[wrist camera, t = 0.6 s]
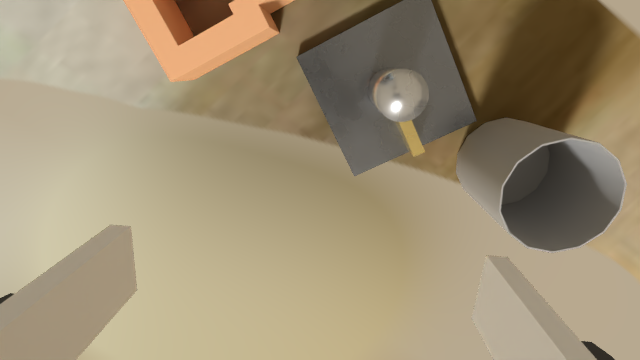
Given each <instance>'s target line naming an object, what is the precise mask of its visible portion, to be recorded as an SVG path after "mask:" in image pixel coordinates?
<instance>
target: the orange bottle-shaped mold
mask: <svg viewBox="0 0 640 360" xmlns="http://www.w3.org/2000/svg"><path fill="white" fill-rule="evenodd" d="M123 1H124V2H125V4H126V6H127V7H128V9H129V11H130V13H131V14H132V16H133V18H134V20H135V21H136V23H137V25H138V26H139V28H140V30H141V32H142V33H143V35H144V37H145V38H146V40H147V42H148V44H149V45H150V47H151V49H152V50H153V52H154V54H155V56H156V57H157V59H158V61H159V62H160V64H161V66H162V68H163V69H164V71H165V73H166V75H167V76H168V78H169V80H170V81H171V82H175V81H186V80H195V79H197V78H199V77H200V76H202V75H204V74H206V73H208V72H209V71H211V70H213V69H215V68H217V67H219V66H220V65H222V64H224V63H226V62H228V61H230V60H231V59H233V58H235V57H237V56H239V55H241V54H242V53H244V52H246V51H248V50H250V49H252V48H253V47H255V46H257V45H259V44H261V43H263V42H264V41H266V40H268V39H270V38H272V37H273V36H275V35H277V34H279V31H278V29H277V27H276V25H275V23H274V21H273V19H272V16H271V13H273V12H274V11H276V10H278V9H280V8H282V7H283V6H285V5H287V4H289V3H291V2H292V1H294V0H234V1H233V2H231V3H229V4H228V5H229V7H230V9H231V11H232V13H233V15H232V16H230V17H228V18H226V19H225V20H223V21H221V22H219V23H218V24H216V25H214V26H212V27H211V28H209V29H207V30H205V31H204V32H202V33H200V34H198V35H197V36H195V37H194V35H193V33H192V31H191V29H190V28H189V26H188V24H187V22H186V20H185V19H184V17H183V15H182V13H181V11H180V9H179V8H178V6H177V4H176V2H175V0H123Z"/></svg>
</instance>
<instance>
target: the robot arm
mask: <svg viewBox="0 0 640 360" xmlns="http://www.w3.org/2000/svg"><path fill="white" fill-rule="evenodd" d="M136 291H137V284H136V274H135V264H134V253H133V243H132V233H131V226H121V225H110V226H108V227H107V228H105V229H104V230H102V231H101V232H100V233H98V234H97V235H96V236H94V237H93V238H91V239H90V240H89V241H87V242H86V243H85V244H83V245H82V246H80V247H79V248H77V249H76V250H75V251H73V252H72V253H71V254H69V255H68V256H66V257H65V258H64V259H62V260H61V261H59V262H58V263H57V264H55V265H54V266H53V267H51V268H50V269H48V270H47V271H46V272H44V273H43V274H41V275H40V276H39V277H37V278H36V279H35V280H33V281H32V282H31V283H29V284H28V285H26V286H25V287H23V288H22V289H21V290H19V291H18V292H17V293H15V294H11V293H10V294H8V295H6V296H4V297H2V298H0V360H76V359H77V358H78V357H79V356H80V355H81V354H82V352H83V351H84V350H85V349H86V348H87V347H88V345H89V344H90V343H91V342H92V341H93V340H94V339H95V337H96V336H97V335H98V334H99V333H100V332H101V331H102V330H103V328H104V327H105V326H106V325H107V324H108V323H109V322H110V320H111V319H112V318H113V317H114V316H115V315H116V313H117V312H118V311H119V310H120V309H121V308H122V307H123V306H124V304H125V303H126V302H127V301H128V300H129V299H130V298H131V296H132V295H133V294H134V293H135V292H136ZM472 320H473V322H474V324H475V326H476V328H477V330H478V331H479V333H480V335H481V337H482V339H483V341H484V343H485V345H486V347H487V349H488V351H489V352H490V354H491V356H492V358H493V360H614V358H613V357H612V356H610V355H609V354H607V353H606V352H605V351H603V350H602V349H600V348H599V347H598V346H596V345H595V344H593V343H592V342H585V341H580V340H579V338H578V337H577V336H576V335H575V334H574V333H573V332H572V330H571V329H570V328H569V327H568V326H567V325H566V324H565V322H564V321H563V320H562V319H561V318H560V317H559V316H558V314H556V312H555V311H554V310H553V309H552V307H551V306H550V305H549V304H548V303H547V302H546V301H545V299H544V298H543V297H542V296H541V295H540V294H539V293H538V292H537V290H536V289H535V288H534V287H533V286H532V285H531V284H530V282H529V281H528V280H527V279H526V278H525V277H524V275H523V274H522V273H521V272H520V271H519V270H518V269H517V267H516V266H515V265H514V264H513V263H512V262H511V261H510V259H509V258H508V257H501V256H489V255H486V259H485V263H484V268H483V272H482V276H481V281H480V285H479V289H478V293H477V298H476V302H475V306H474V311H473V315H472Z"/></svg>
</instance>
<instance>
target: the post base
mask: <svg viewBox="0 0 640 360" xmlns="http://www.w3.org/2000/svg"><path fill="white" fill-rule="evenodd" d="M297 59H298V61H299V63H300V65H301V67H302V70H303V72H304V74H305V76H306V78H307V80H308V82H309V84H310V86H311V88H312V90H313V92H314V94H315V96H316V98H317V100H318V102H319V105H320V107H321V109H322V111H323V113H324V115H325V117H326V119H327V121H328V123H329V125H330V127H331V129H332V131H333V133H334V135H335V138H336V140H337V142H338V144H339V146H340V148H341V150H342V152H343V154H344V156H345V158H346V160H347V162H348V164H349V166H350V168H351V170H352V173H353V174H354V176H356V175H358V174H361V173H363V172H365V171H367V170H369V169H372V168H374V167H376V166H378V165H380V164H383V163H385V162H387V161H389V160H391V159H394V158H396V157H398V156H400V155H402V154H405V153H407V152H410V153H411V154H412V155H413V156H414V157H415V156H417V155H419V154H421V153H424V152H425V151H424V148H423V146H422V145H425V144H427V143H429V142H431V141H433V140H436V139H438V138H440V137H442V136H444V135H447V134H449V133H451V132H453V131H455V130H458V129H460V128H462V127H464V126H467V125H469V124H471V123H473V122H475V121H477V120H476V117H475V115H474V112H473V109H472V107H471V104H470V101H469V99H468V96H467V94H466V91H465V88H464V86H463V83H462V80H461V78H460V75H459V72H458V70H457V67H456V64H455V62H454V59H453V56H452V54H451V51H450V49H449V46H448V43H447V41H446V38H445V35H444V33H443V30H442V27H441V25H440V22H439V19H438V17H437V14H436V12H435V9H434V6H433V4H432V1H431V0H403V1H401V2H399V3H397V4H395V5H393V6H392V7H390V8H388V9H386V10H384V11H382V12H380V13H378V14H376V15H375V16H373V17H371V18H369V19H367V20H365V21H363V22H361V23H359V24H358V25H356V26H354V27H352V28H350V29H348V30H346V31H344V32H342V33H341V34H339V35H337V36H335V37H333V38H331V39H329V40H327V41H325V42H324V43H322V44H320V45H318V46H316V47H314V48H312V49H310V50H308V51H307V52H305V53H303V54H301V55H299V56H297Z"/></svg>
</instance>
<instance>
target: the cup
mask: <svg viewBox="0 0 640 360" xmlns="http://www.w3.org/2000/svg"><path fill="white" fill-rule="evenodd" d="M456 174H457V176H458V178H459V180H460V183H461V185H462V187H463V189H464V190H465V191H466V192H467V193H468V194H469V195H470V196H471V197H472V198H473V199H474V200H475V201H476V202H477V203H478V204H479V205H480V206H481V207H482V208H483V209H484V210H485V211H486V212H487V213H488V214H489V215H490V216H491V217H492V218H493V219H494V220H495V221H496V222H497V223H498V224H499V225H500V226H501V227H502V228H503V229H504V230H505V231H506V232H507V233H508V234H509V235H511V236H512V237H513V238H515V239H516V240H517V241H519V242H520V243H521V244H523V245H524V246H525V247H526V248H530V249H534V250H540V251H545V252H550V253H555V252H560V251H566V250H570V249H575V248H580V247H582V246H583V245H585V244H587V243H588V242H590V241H591V240H593V239H595V238H596V237H598V236H599V235H601V234H603V233H604V232H605V231H606V230H607V228H608V227H609V226H610V224H611V223H612V222H613V220H614V219H615V218H616V216H617V215H618V214H619V212H620V211H621V209H622V204H623V199H624V195H625V190H626V186H627V183H626V180H625V177H624V173H623V170H622V167H621V164H620V161H619V159H618V158H616V157H615V156H614V155H613V154H612V153H611V152H609V151H608V150H607V149H606V148H605V147H603V146H602V145H601V144H600V143H598V142H594V141H591V140H587V139H584V138H581V137H577V136H574V135H570V134H567V133H564V132H560V131H557V130H553V129H550V128H547V127H543V126H540V125H536V124H533V123H530V122H526V121H521V120H516V119H511V118H502V119H498V120H494V121H490V122H486V123H484V124H483V125H481V126H480V127H479V128H477V129H476V130H475V131H473V132H472V133H471V134H469V135H468V136H467V138H466V140H465V141H464V143H463V145H462V147H461V148H460V150H459V152H458V154H457V167H456Z"/></svg>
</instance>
